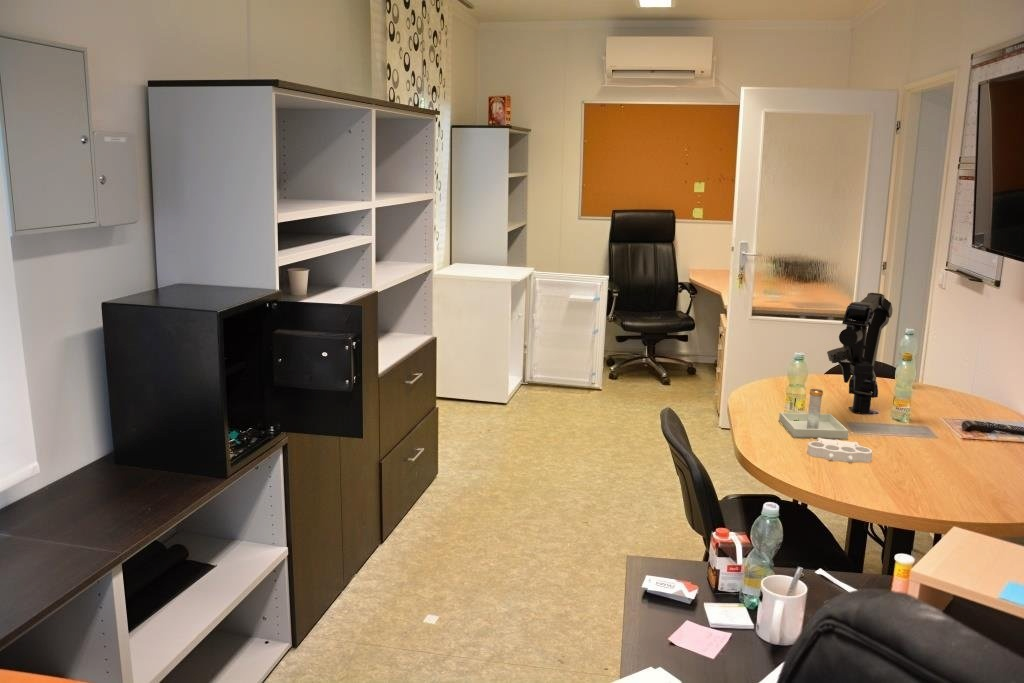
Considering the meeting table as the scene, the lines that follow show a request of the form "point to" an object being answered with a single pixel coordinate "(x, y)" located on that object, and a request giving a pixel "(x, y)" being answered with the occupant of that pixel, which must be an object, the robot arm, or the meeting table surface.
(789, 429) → the tray
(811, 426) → the grey cylinder
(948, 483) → the meeting table surface
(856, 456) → the white brass knuckles
